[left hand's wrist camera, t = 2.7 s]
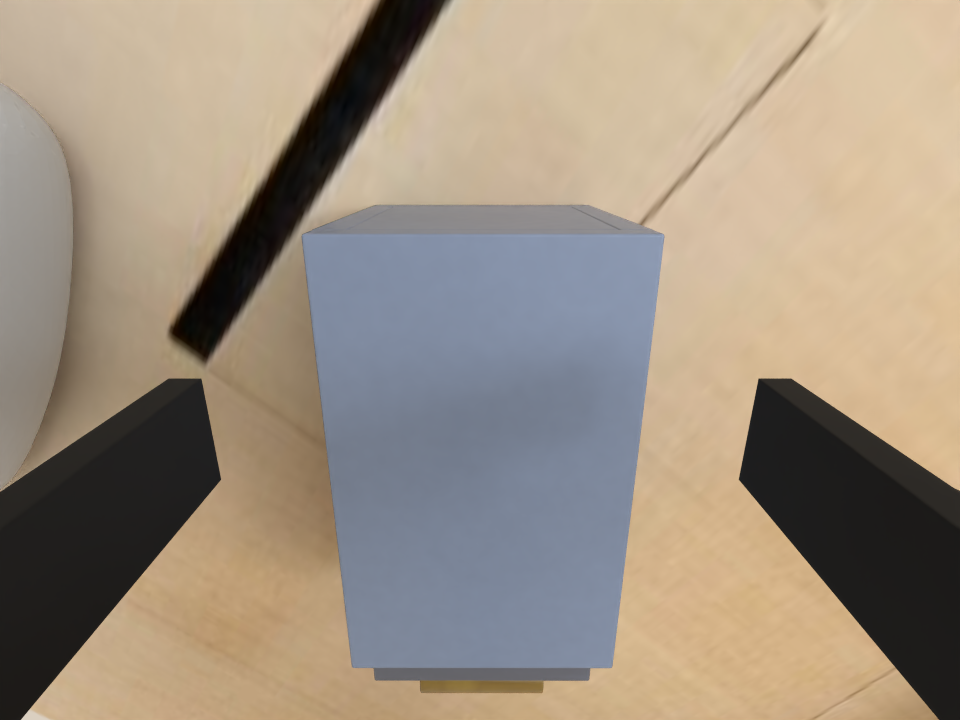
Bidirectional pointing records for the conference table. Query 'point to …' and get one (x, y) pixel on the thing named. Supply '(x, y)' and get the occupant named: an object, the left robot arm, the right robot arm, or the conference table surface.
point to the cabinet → (482, 426)
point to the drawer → (482, 678)
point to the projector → (30, 273)
